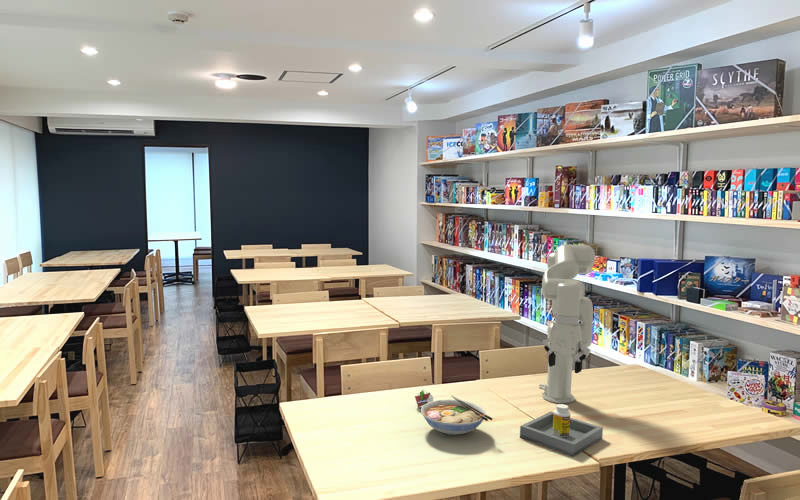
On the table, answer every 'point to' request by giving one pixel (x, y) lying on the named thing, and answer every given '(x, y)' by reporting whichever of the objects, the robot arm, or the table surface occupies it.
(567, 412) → the supplement bottle
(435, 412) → the ramen bowl
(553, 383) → the robot arm
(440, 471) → the table surface
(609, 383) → the table surface
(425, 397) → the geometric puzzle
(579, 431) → the tray
